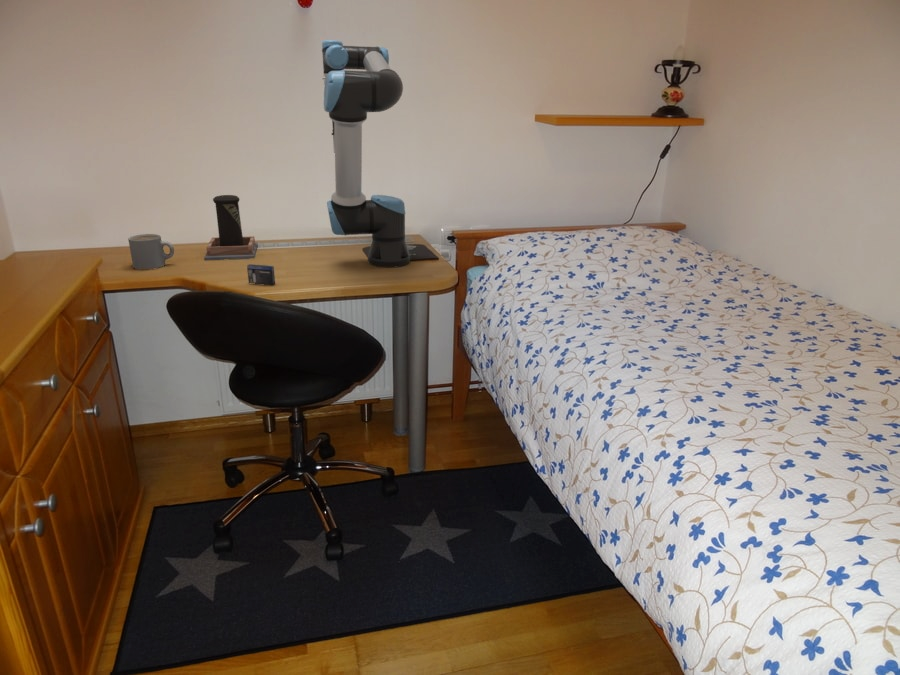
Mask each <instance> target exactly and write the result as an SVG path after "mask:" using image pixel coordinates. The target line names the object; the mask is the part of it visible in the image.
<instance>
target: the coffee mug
mask: <svg viewBox="0 0 900 675" xmlns="http://www.w3.org/2000/svg"><path fill="white" fill-rule="evenodd" d="M128 246H129V250H130V256H131V261H132V267H133V269H134V268H135V269H134V270H138V269H152V270H155V269H154V268H158V269H160V268H159V267H161V268H163V267H165V266H166V261H167V260H169V259H171V258H173V256H174V254H175V247H174V245H173V244H172V242H170V241H166V240H162V236H161V235H160V234H158V233H157V234H155V233H142V234H135V235H134V234H133V235H132V236H129V237H128ZM164 246H168V248H169V253H166V252H165V250H164ZM164 265H165V266H164ZM162 266H163V267H162Z"/></svg>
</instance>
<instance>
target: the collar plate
mask: <svg viewBox="0 0 900 675" xmlns="http://www.w3.org/2000/svg"><path fill="white" fill-rule="evenodd" d="M255 241H256V239H255V236H243V244H244V246H220V241H219V236H218V237H211V238H210V240H209V242H208V244H207V245H206V253H205V255H204V257H203V258H204V260H203V261H223V260H224V259H228V260H248V259H249V258H254V259H255V258H256V253H257V250H258V246H259V242H255ZM220 259H221V260H220ZM249 260H250V259H249Z"/></svg>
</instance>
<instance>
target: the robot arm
mask: <svg viewBox="0 0 900 675" xmlns="http://www.w3.org/2000/svg"><path fill="white" fill-rule="evenodd" d="M321 47H322V48H321V52H322V65H323V66H322V68H323V76H322V77H321V79H322V80H323V85H324V91H323V110H324V112H326V113H328V118H330V120H331V122H332V133H331V136H332V139H333V143H332V144H333V153H334V170H335V171H334V172H335V173H334V174H335V180H334V181H335V183H334V184H335V192H333V193H332V194H331V197H330V198H331V200H328V201H327V202H326V207H327V211H328V217H329V223H330V227H331V232H332V233H333V234H334V235H336V236H352V235H372V236H371V237H372V239H371V244H370V247H369V251H368V254H367V263H368V262H369V263H370V264H369V263H368V264H369V265H371V264H372V266H374V265H375V267H379V266H381V267H382V268H396V267H395V266H398V267H403V266H406V264H407V265H408V264H410V263H409V262H411V253H410V252H409V249H408V246H407V242H406V210H405V209H406V208H405V207H406V206H405V202H404V200H403V199H401V198H399V197H395V196H392V195H386V194H385V195H383V194H373V195H371V196H370V199H367V197H366V195H365V194H364V193H363V192H362V181H363V180H362V176H363V175H362V171H363V170H362V167H363V166H362V165H363V164H362V163H363V162H362V161H363V160H362V159H363V157H362V155H363V153H362V152H363V151H362V150H363V149H362V147H363V146H362V145H363V144H362V141H363V140H362V139H363V136H362V134H363V123H364V122H365V121H367V118H368V113H380V112H384V111H387V110H389V109H391V108H392V107H395V105H396V104H397V103H398V102H399V101H400V100H401V97H402V95H403V90H404V86H403V81H402V78H401V77H400V75H399V74H398V73H397V72H396V71H395V70H393V69H392V68H391V67H390V64H389V61H390V57H389V56H390V55H389V51H388V49H387V48H386V47H381V46H357V45H356V46H355V45H344V44H343V41H340V40H336V39H335V40H330V39H329V40H323V41H322V44H321ZM381 267H380V268H381Z"/></svg>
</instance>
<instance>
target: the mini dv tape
mask: <svg viewBox="0 0 900 675" xmlns="http://www.w3.org/2000/svg"><path fill="white" fill-rule="evenodd" d="M246 268H247V275H248V276H247V279H248V284H249V283H255V284H254V285H260V284H264V285H263V286H275V285H276V277H275V266H274V265H267V264H266V265H265V264H263V265H262V264H251V263H250V264H247V266H246Z"/></svg>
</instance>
